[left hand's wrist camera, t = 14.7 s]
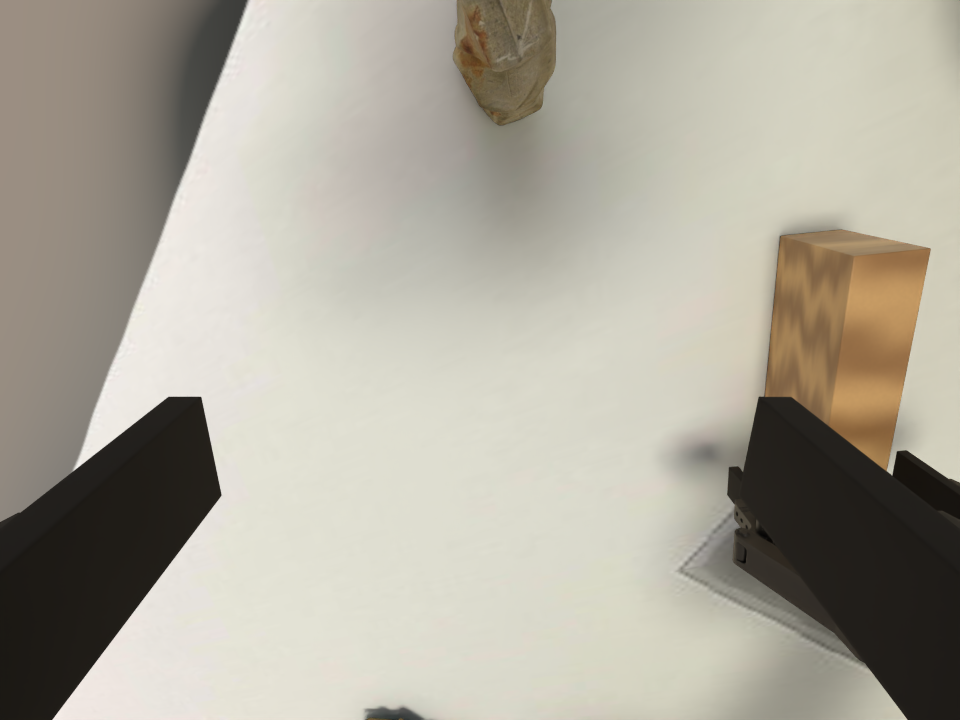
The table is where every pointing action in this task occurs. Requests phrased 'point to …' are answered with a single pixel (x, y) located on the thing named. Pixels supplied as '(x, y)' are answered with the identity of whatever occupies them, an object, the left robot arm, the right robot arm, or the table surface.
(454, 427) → the table surface
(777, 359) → the bar
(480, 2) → the sculpture
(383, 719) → the spray gun
